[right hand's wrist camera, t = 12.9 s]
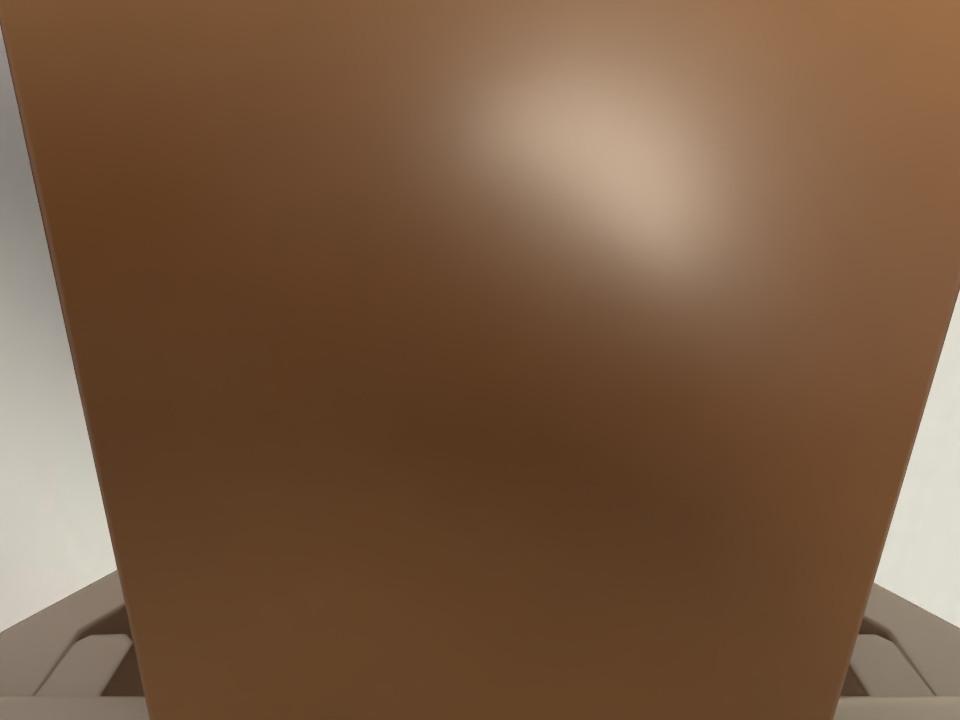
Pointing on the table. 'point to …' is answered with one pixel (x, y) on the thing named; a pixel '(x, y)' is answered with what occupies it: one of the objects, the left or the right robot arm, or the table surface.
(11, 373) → the table surface
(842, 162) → the bar
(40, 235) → the table surface
